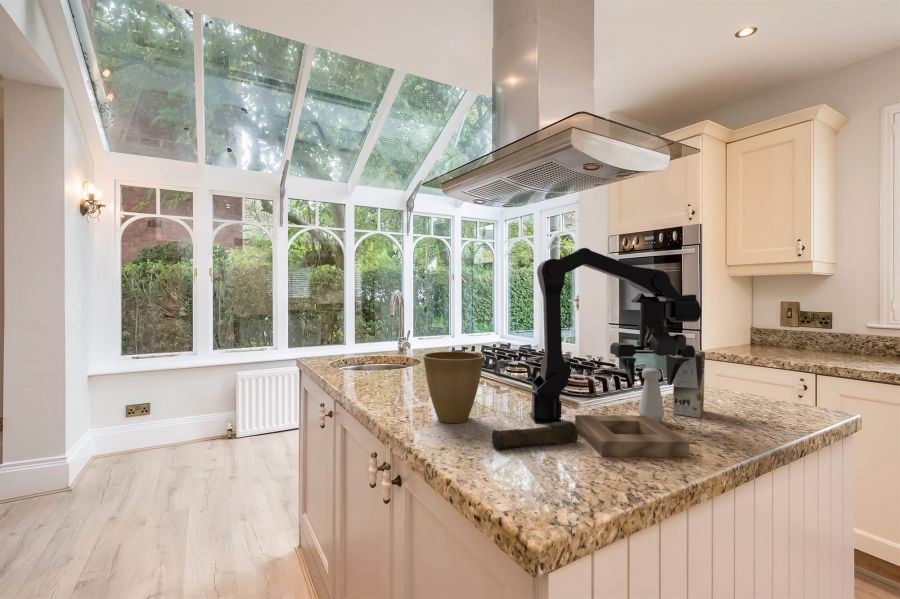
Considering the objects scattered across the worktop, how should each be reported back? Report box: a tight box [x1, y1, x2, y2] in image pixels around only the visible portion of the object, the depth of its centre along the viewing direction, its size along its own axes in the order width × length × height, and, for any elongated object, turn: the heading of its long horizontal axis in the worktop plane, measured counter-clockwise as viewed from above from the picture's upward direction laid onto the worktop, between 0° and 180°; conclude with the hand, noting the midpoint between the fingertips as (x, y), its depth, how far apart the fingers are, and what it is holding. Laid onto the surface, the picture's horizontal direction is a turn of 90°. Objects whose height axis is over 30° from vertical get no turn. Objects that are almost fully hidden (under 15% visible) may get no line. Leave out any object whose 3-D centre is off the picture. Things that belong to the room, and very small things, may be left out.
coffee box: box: [672, 350, 706, 419], centre depth 112 cm, size 9×6×16 cm
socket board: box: [574, 414, 691, 458], centre depth 90 cm, size 17×17×3 cm
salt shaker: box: [637, 367, 665, 424], centre depth 104 cm, size 6×6×13 cm
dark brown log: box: [491, 420, 579, 451], centre depth 87 cm, size 19×4×5 cm, turn 102°
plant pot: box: [423, 351, 485, 424], centre depth 105 cm, size 15×15×16 cm
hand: (651, 384), depth 104 cm, fingers open, 9 cm apart
